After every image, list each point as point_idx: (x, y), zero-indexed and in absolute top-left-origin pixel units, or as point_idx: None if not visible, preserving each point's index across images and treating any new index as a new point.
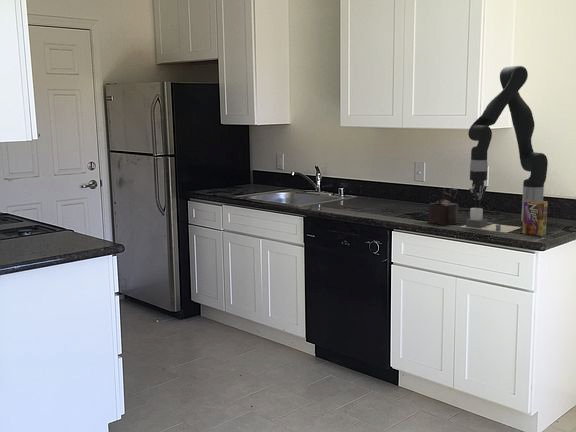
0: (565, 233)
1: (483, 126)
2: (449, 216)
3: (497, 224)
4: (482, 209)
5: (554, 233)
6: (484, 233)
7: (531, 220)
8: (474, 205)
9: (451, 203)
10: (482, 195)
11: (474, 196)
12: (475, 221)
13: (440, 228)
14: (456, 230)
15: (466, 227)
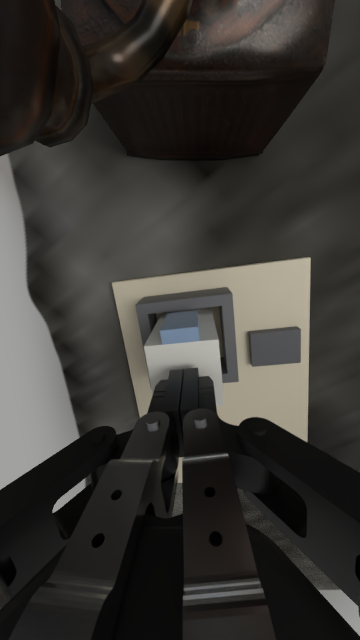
0: (329, 580)
1: None
2: (159, 134)
3: (306, 378)
4: (217, 401)
5: (304, 561)
6: (114, 411)
7: None
8: (155, 386)
9: None
10: (255, 502)
11: (89, 478)
12: (146, 361)
13: (42, 199)
14: (69, 294)
15: (119, 318)
